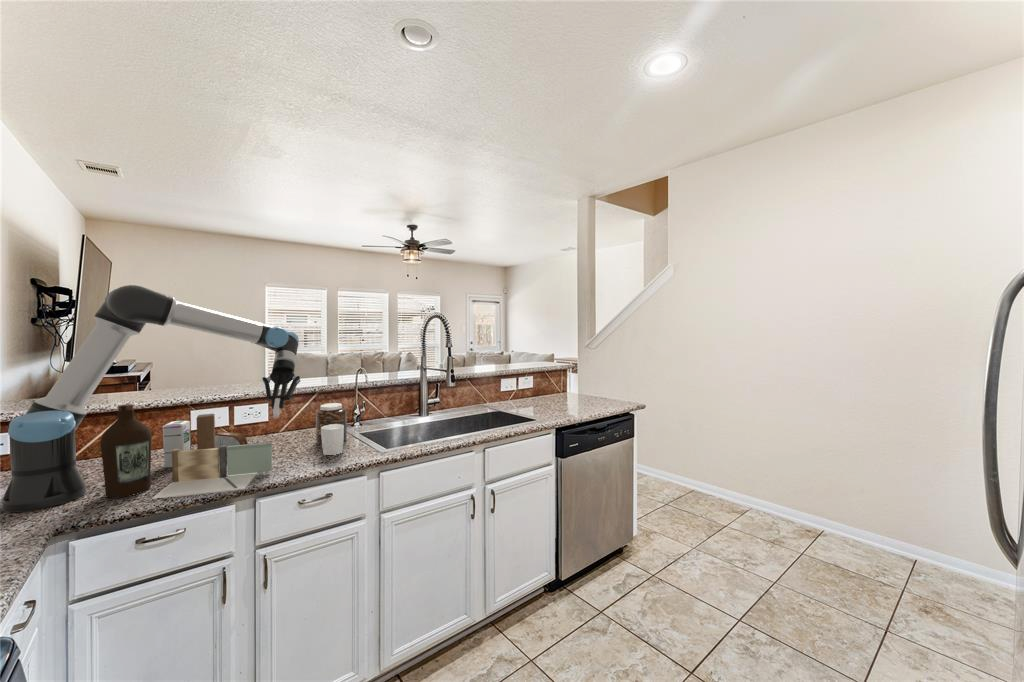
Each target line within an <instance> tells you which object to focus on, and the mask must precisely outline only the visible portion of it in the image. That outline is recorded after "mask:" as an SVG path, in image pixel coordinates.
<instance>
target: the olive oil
mask: <svg viewBox="0 0 1024 682" xmlns="http://www.w3.org/2000/svg"><path fill="white" fill-rule="evenodd" d="M117 409H118V410H117V419H116V421H114V422H113V424H111V425H110V426H109V427H108V428H107V429H106V430H105V431H103V433H102V436H101V439H100V451H101V458H102V467H103V468H102V469H103V478H104V492H105V497H106V496H107V497H106V498H108V497H111V498H110V499H118V498H117V497H122V498H125V497H124V496H128V497H130V496H129V495H132V496H134V495H133V494H136V495H138V494H137V493H139V494H141V493H140V492H142V493H144V492H146V491H148V490H149V489H151V485H152V484H151V480H152V479H151V472H152V471H151V470H152V469H151V468H152V466H151V465H152V444H153V443H152V437H153V434H152V432H151V430H150V428H149V427H148V425H146V424H145V423H143V422H141V421H140V420H139V419H137V418H136V417H135V409H134V404H132V403H129V404H128V403H126V404H120V405H118V406H117ZM143 491H144V492H143Z"/></svg>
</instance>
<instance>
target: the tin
mask: <svg viewBox="0 0 1024 682" xmlns="http://www.w3.org/2000/svg"><path fill="white" fill-rule="evenodd" d="M246 444H248V441H247V438H246V436H244V435H243V434H241V433H240V432H232V431H223V430H222V431H219V432H217V433H216V432H215V448H219V446H223V445H226V457H227V447H228V446H233V445H246Z"/></svg>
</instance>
